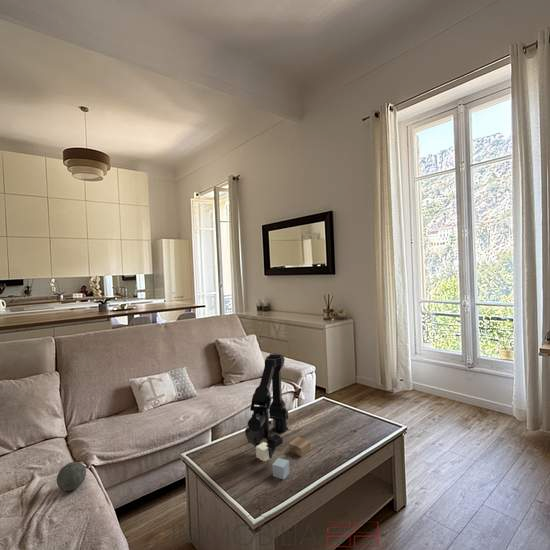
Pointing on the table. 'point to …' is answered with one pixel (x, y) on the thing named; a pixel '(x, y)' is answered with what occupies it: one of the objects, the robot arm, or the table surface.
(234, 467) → the table surface
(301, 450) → the brown wooden block
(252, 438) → the robot arm
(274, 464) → the slate cube
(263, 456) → the cream cube
